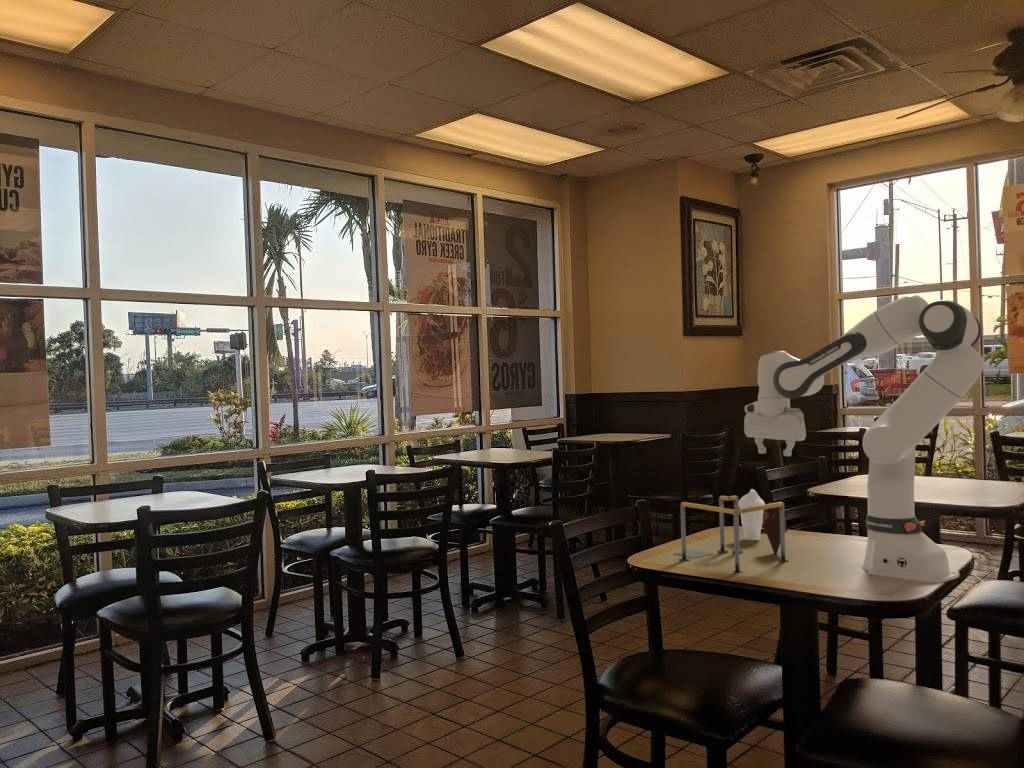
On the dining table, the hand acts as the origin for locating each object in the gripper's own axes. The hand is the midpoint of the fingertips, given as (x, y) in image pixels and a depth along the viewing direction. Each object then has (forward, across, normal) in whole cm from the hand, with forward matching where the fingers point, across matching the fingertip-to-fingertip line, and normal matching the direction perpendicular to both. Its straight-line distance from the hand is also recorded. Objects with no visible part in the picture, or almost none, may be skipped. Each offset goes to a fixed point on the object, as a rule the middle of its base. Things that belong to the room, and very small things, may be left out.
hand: (774, 454), depth 232 cm
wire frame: (+29, 0, +17) cm, 34 cm away
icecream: (+29, 0, +1) cm, 29 cm away
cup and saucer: (+30, +29, -27) cm, 49 cm away
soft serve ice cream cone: (+29, +18, -10) cm, 36 cm away
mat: (+29, +13, +20) cm, 38 cm away
